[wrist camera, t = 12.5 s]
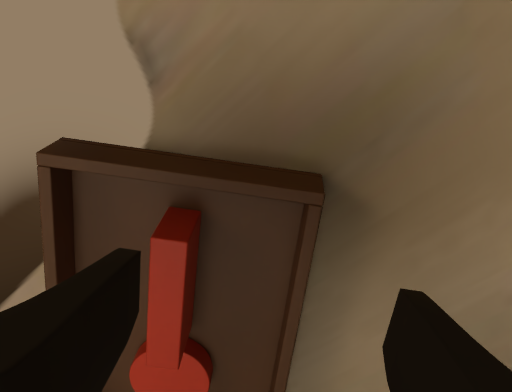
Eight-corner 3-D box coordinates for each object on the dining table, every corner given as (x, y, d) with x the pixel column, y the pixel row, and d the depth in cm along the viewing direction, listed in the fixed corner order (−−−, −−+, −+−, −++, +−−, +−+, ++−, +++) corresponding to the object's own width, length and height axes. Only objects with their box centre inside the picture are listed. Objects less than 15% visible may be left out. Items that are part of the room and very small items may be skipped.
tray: (270, 435, 28) (268, 472, 25) (74, 405, 28) (55, 440, 26) (321, 173, 21) (325, 193, 19) (62, 136, 21) (35, 152, 19)
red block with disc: (140, 201, 22) (116, 232, 19) (230, 214, 22) (221, 247, 19) (135, 388, 26) (115, 436, 23) (209, 399, 26) (199, 448, 23)
